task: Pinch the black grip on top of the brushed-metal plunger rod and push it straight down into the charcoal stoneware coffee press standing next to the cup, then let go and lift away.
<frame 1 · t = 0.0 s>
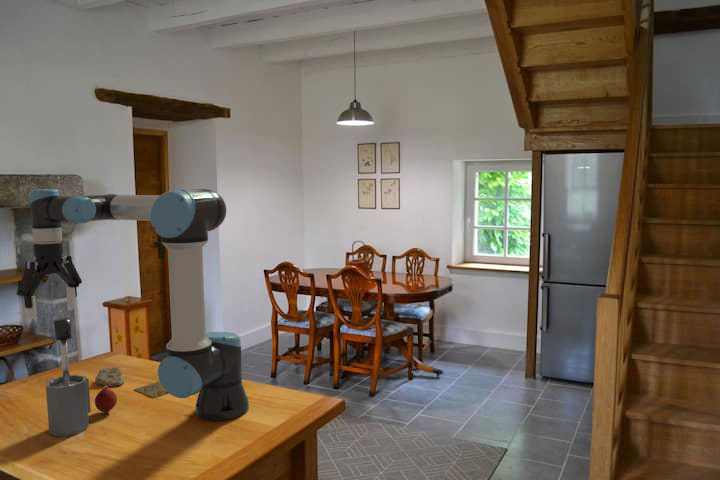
hand: (52, 313, 169), 28 cm above the table, fingers open, 13 cm apart
rock: (110, 383, 190), on the table
plunger: (64, 354, 153), point 21 cm above the table, slide at 0.0 cm
press carafe: (69, 428, 155), on the table
grey porous flat square: (159, 390, 185), on the table
onion: (106, 413, 166), on the table
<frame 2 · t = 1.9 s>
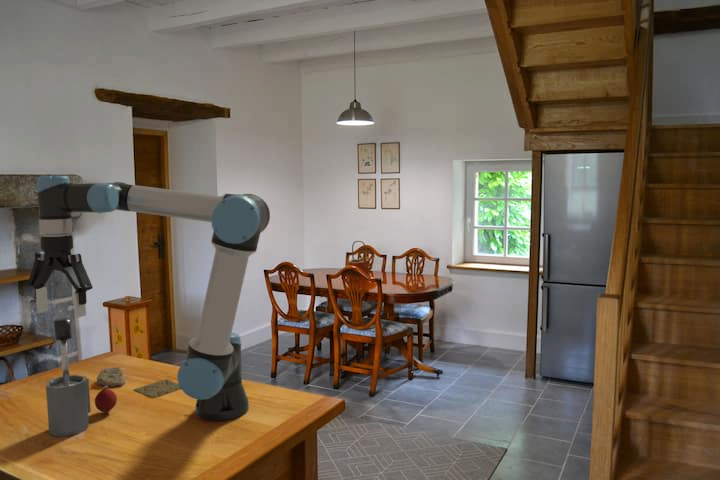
hand: (61, 314, 152), 32 cm above the table, fingers open, 13 cm apart
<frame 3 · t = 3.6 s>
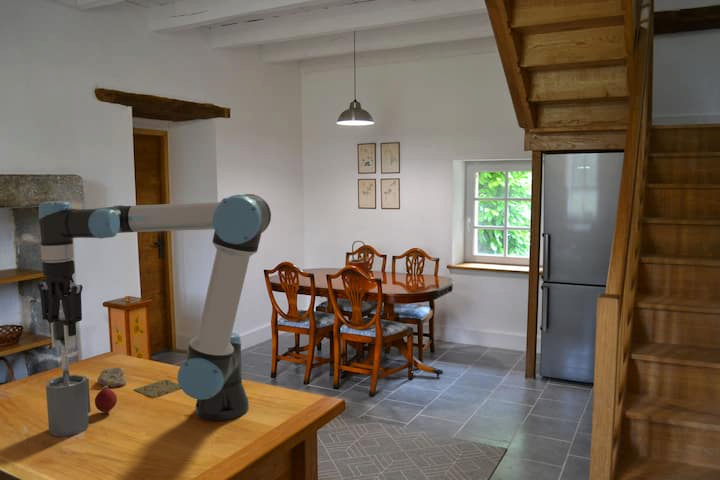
hand: (64, 346, 153), 23 cm above the table, fingers closed on plunger, 4 cm apart
plunger: (64, 354, 153), point 21 cm above the table, slide at 0.0 cm, touching gripper
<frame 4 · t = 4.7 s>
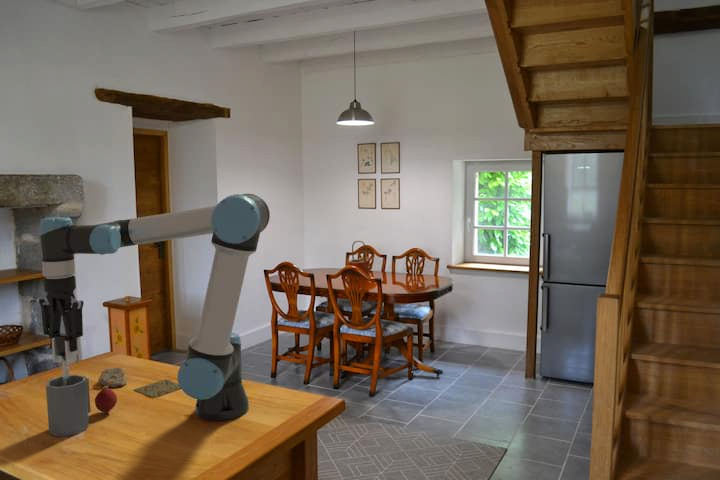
hand: (65, 361, 153), 19 cm above the table, fingers closed on plunger, 4 cm apart
plunger: (65, 369, 154), point 17 cm above the table, slide at 4.2 cm, touching gripper
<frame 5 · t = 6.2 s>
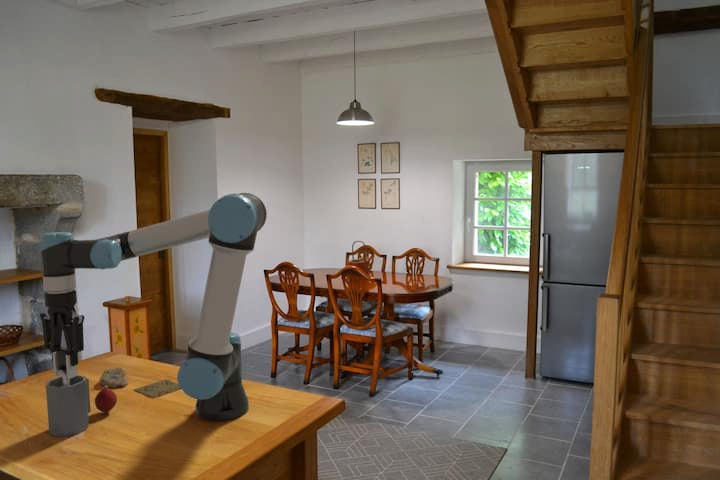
hand: (65, 375, 154), 15 cm above the table, fingers closed on plunger, 4 cm apart
plunger: (66, 383, 154), point 13 cm above the table, slide at 8.1 cm, touching gripper
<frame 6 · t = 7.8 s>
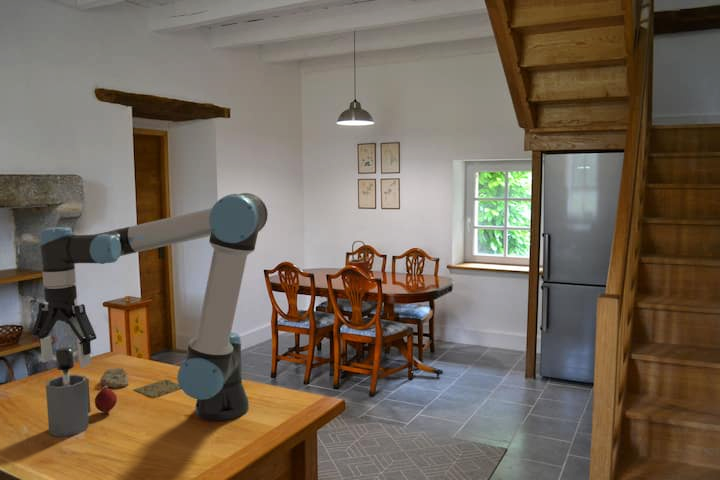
hand: (66, 363, 153), 18 cm above the table, fingers open, 13 cm apart
plunger: (66, 383, 154), point 13 cm above the table, slide at 8.1 cm
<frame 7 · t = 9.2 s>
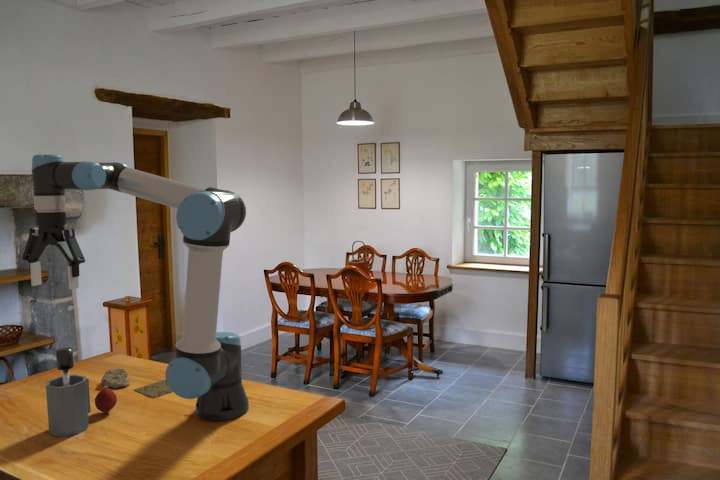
hand: (55, 286, 160), 38 cm above the table, fingers open, 13 cm apart
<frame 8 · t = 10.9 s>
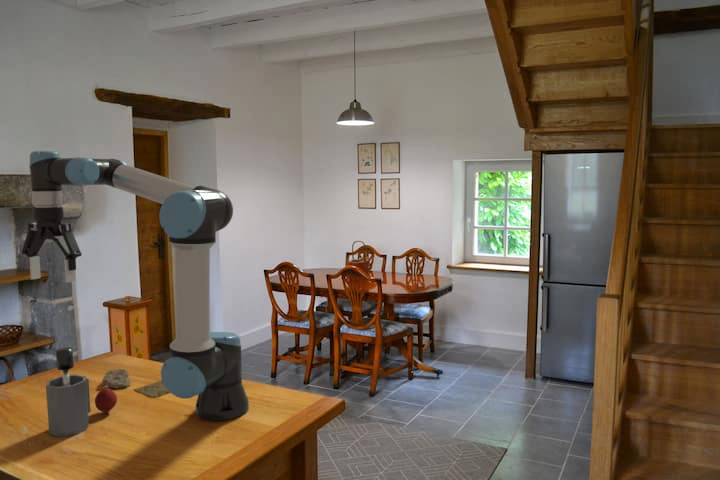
hand: (53, 280, 164), 39 cm above the table, fingers open, 13 cm apart
at the end: plunger slide at 8.1 cm; the gripper is holding nothing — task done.
